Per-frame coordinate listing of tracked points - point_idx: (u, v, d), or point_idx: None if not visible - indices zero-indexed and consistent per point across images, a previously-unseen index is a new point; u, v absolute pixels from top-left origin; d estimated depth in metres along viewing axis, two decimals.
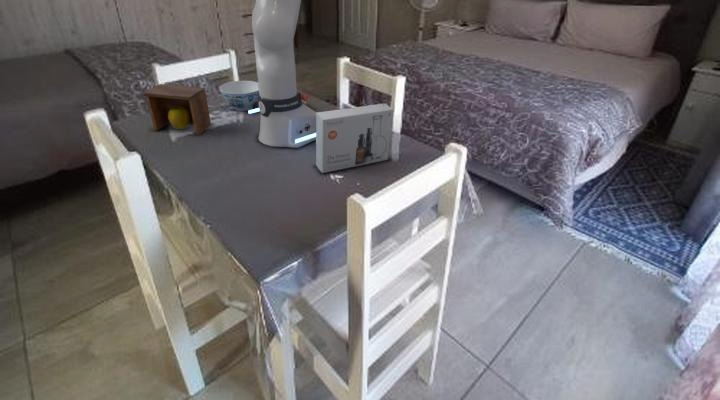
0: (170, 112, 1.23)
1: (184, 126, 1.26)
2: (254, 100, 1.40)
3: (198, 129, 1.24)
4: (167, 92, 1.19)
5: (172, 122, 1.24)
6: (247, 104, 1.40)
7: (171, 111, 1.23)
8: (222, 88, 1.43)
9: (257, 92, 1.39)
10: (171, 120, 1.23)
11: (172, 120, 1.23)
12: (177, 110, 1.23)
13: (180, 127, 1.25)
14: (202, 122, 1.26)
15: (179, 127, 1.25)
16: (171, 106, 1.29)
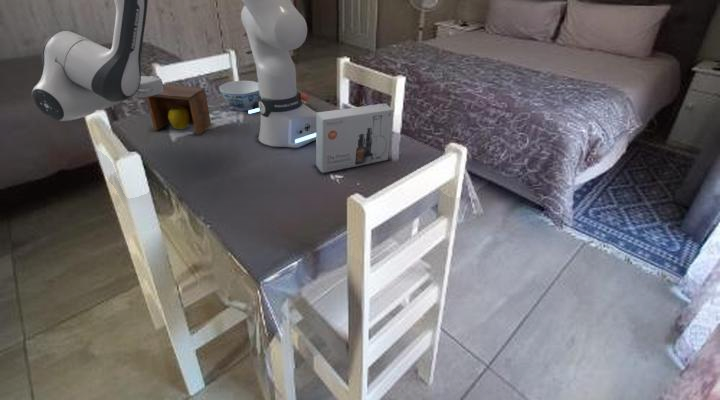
0: (170, 112, 1.23)
1: (184, 126, 1.26)
2: (254, 100, 1.40)
3: (198, 129, 1.24)
4: (167, 92, 1.19)
5: (172, 122, 1.24)
6: (247, 104, 1.40)
7: (171, 111, 1.23)
8: (222, 88, 1.43)
9: (257, 92, 1.39)
10: (171, 120, 1.23)
11: (172, 120, 1.23)
12: (177, 110, 1.23)
13: (180, 127, 1.25)
14: (202, 122, 1.26)
15: (179, 127, 1.25)
16: (171, 106, 1.29)
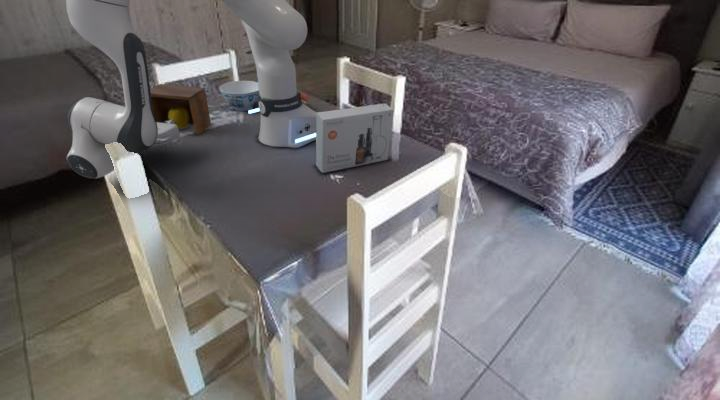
0: (170, 112, 1.23)
1: (184, 126, 1.26)
2: (254, 100, 1.40)
3: (198, 129, 1.24)
4: (167, 92, 1.19)
5: None
6: (247, 104, 1.40)
7: (171, 111, 1.23)
8: (222, 88, 1.43)
9: (257, 92, 1.39)
10: None
11: None
12: (177, 110, 1.23)
13: (180, 127, 1.25)
14: (202, 122, 1.26)
15: (179, 127, 1.25)
16: (171, 106, 1.29)
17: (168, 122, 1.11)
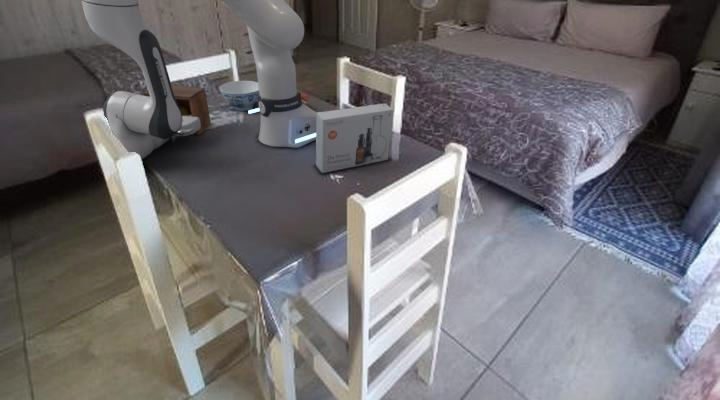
0: None
1: None
2: (254, 100, 1.40)
3: None
4: None
5: None
6: (247, 104, 1.40)
7: None
8: (222, 88, 1.43)
9: (257, 92, 1.39)
10: None
11: None
12: None
13: None
14: (202, 122, 1.26)
15: None
16: None
17: (190, 115, 1.22)
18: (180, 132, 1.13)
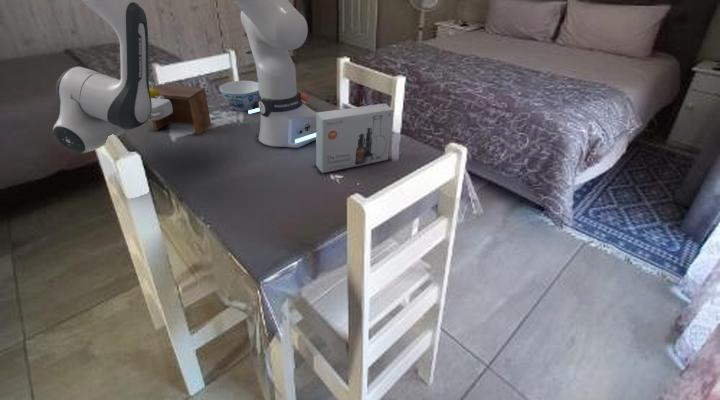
0: None
1: None
2: (254, 100, 1.40)
3: (198, 129, 1.24)
4: (167, 92, 1.19)
5: None
6: (247, 104, 1.40)
7: None
8: (222, 88, 1.43)
9: (257, 92, 1.39)
10: None
11: None
12: None
13: None
14: (202, 122, 1.26)
15: None
16: None
17: (158, 98, 1.07)
18: None
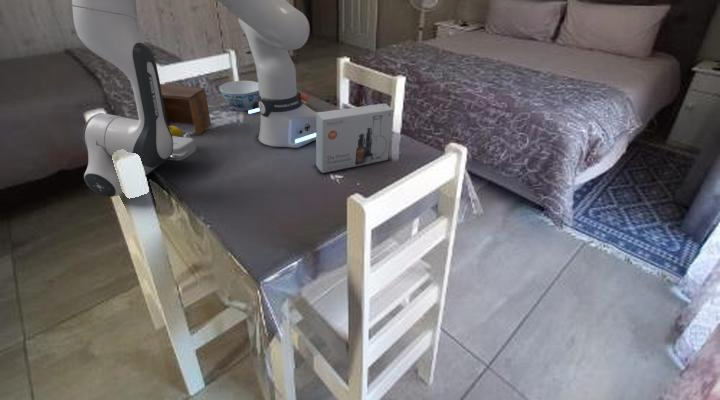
0: None
1: None
2: (254, 100, 1.40)
3: (198, 129, 1.24)
4: (167, 92, 1.19)
5: None
6: (247, 104, 1.40)
7: None
8: (222, 88, 1.43)
9: (257, 92, 1.39)
10: None
11: None
12: (170, 131, 1.10)
13: None
14: (202, 122, 1.26)
15: None
16: (171, 106, 1.29)
17: (184, 135, 1.09)
18: (172, 157, 1.00)
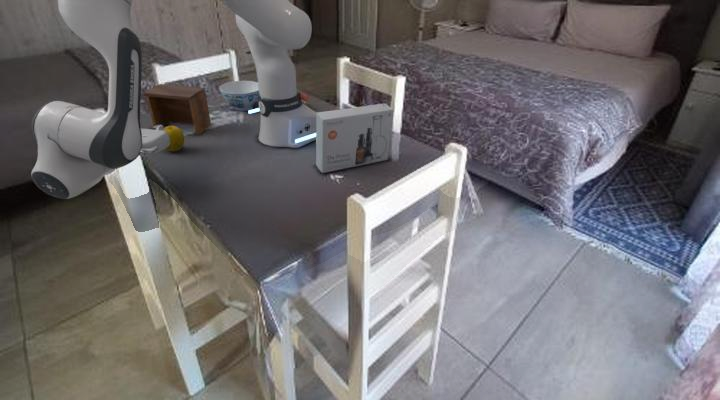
0: None
1: (178, 148, 1.13)
2: (254, 100, 1.40)
3: (198, 129, 1.24)
4: (167, 92, 1.19)
5: None
6: (247, 104, 1.40)
7: None
8: (222, 88, 1.43)
9: (257, 92, 1.39)
10: None
11: None
12: (170, 131, 1.10)
13: (173, 149, 1.12)
14: (202, 122, 1.26)
15: (172, 149, 1.12)
16: (171, 106, 1.29)
17: (157, 128, 0.95)
18: (140, 152, 0.86)
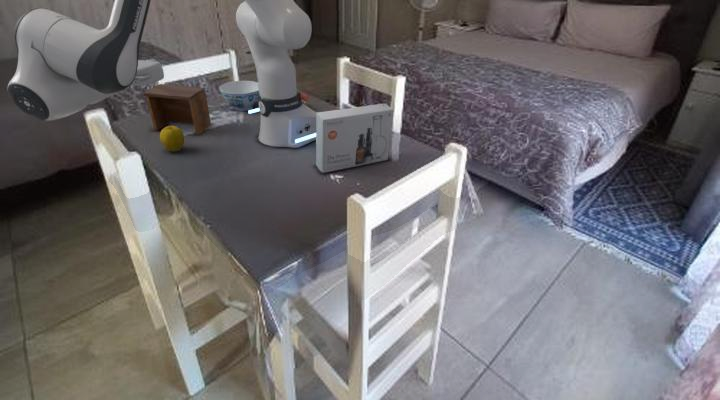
0: (162, 133, 1.10)
1: (178, 148, 1.13)
2: (254, 100, 1.40)
3: (198, 129, 1.24)
4: (167, 92, 1.19)
5: (164, 144, 1.11)
6: (247, 104, 1.40)
7: (163, 132, 1.10)
8: (222, 88, 1.43)
9: (257, 92, 1.39)
10: (163, 142, 1.10)
11: (164, 142, 1.10)
12: (170, 131, 1.10)
13: (173, 149, 1.12)
14: (202, 122, 1.26)
15: (172, 149, 1.12)
16: (171, 106, 1.29)
17: None
18: None
